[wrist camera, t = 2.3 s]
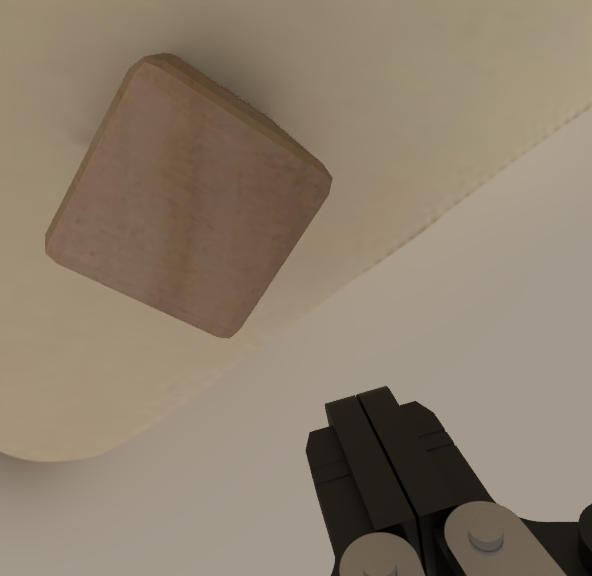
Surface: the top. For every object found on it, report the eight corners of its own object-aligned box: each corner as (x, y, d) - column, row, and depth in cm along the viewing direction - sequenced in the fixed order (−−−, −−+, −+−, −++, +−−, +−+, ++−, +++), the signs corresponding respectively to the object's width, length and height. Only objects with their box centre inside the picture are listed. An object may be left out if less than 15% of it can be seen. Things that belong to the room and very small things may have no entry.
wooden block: (278, 123, 41) (346, 180, 23) (214, 228, 44) (233, 352, 26) (162, 46, 38) (138, 45, 20) (100, 166, 40) (30, 261, 22)
